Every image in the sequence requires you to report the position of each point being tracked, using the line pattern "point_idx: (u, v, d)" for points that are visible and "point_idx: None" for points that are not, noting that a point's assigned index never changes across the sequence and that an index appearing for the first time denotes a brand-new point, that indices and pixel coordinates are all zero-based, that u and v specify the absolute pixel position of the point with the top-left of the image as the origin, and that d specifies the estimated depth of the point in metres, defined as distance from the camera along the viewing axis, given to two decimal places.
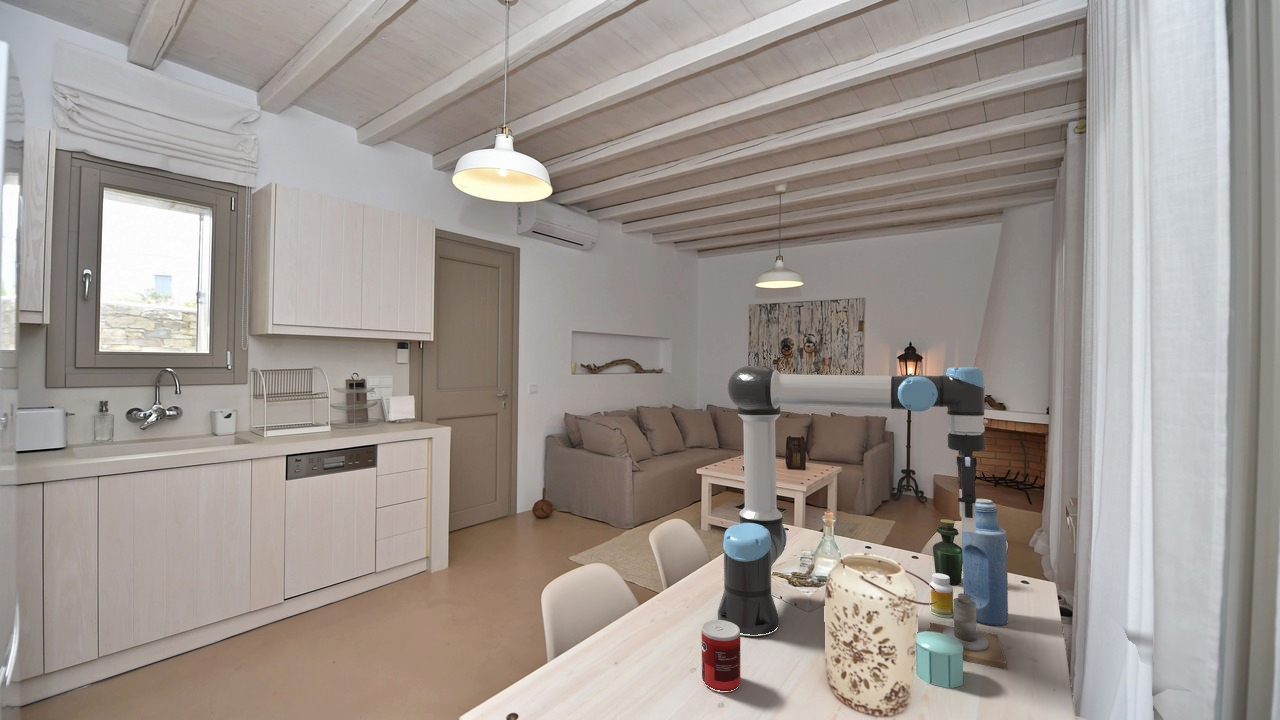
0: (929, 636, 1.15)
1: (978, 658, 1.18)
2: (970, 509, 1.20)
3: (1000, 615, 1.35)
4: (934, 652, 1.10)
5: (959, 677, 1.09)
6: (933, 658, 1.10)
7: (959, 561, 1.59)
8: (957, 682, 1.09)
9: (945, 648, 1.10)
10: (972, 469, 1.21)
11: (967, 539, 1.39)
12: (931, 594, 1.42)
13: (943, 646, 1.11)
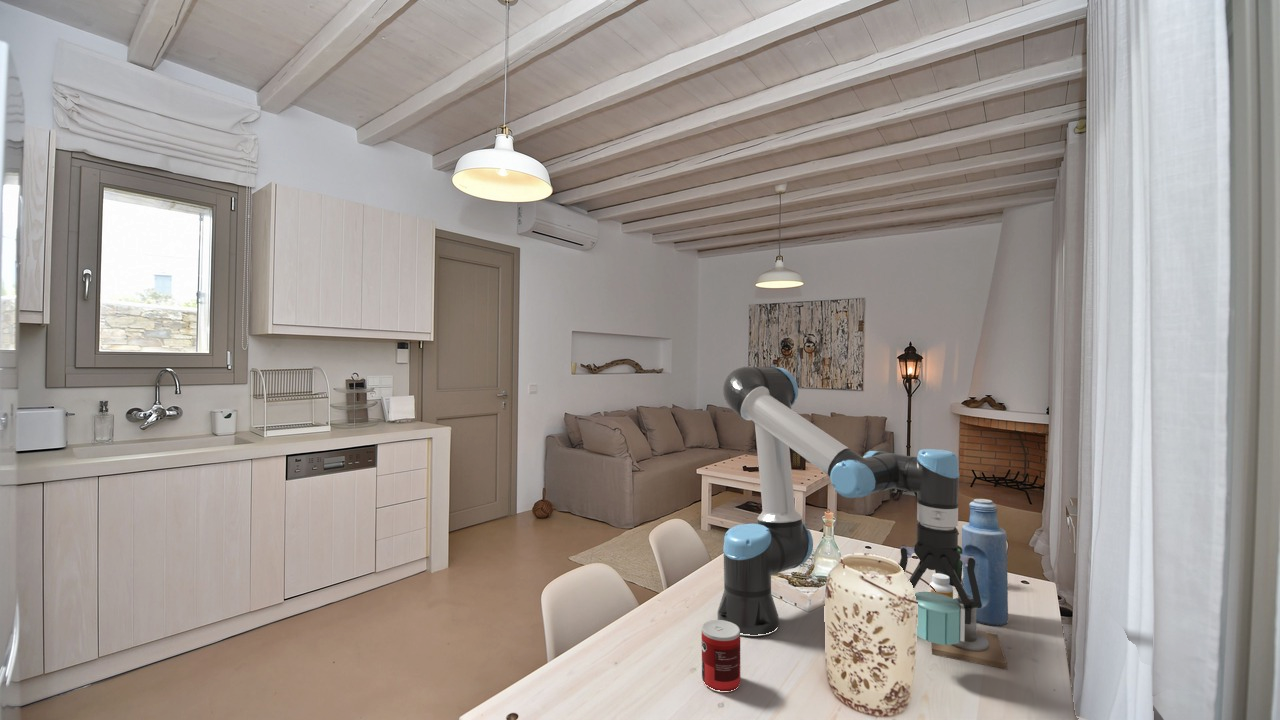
0: (926, 596, 1.16)
1: (978, 658, 1.18)
2: None
3: (1000, 615, 1.35)
4: (931, 610, 1.10)
5: (955, 635, 1.10)
6: (930, 616, 1.10)
7: (959, 561, 1.59)
8: (953, 640, 1.10)
9: (942, 606, 1.11)
10: (901, 560, 1.16)
11: (967, 539, 1.39)
12: None
13: (940, 604, 1.12)
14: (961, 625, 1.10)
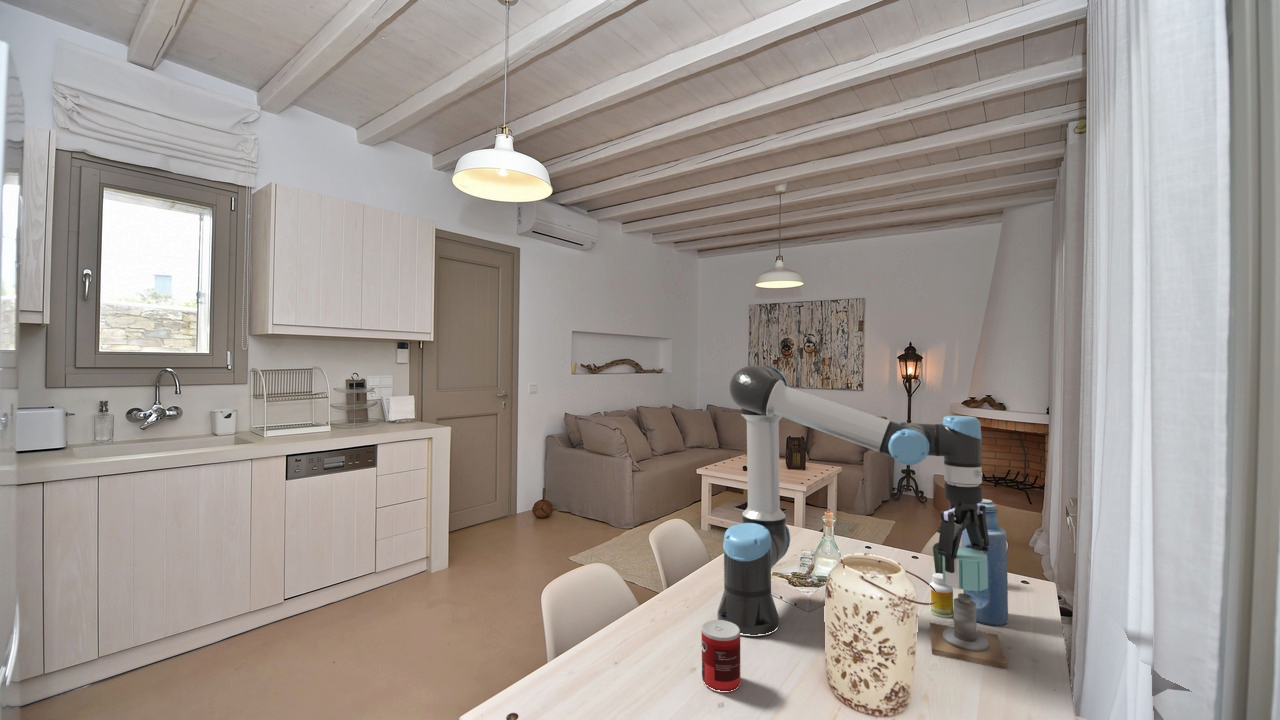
0: None
1: (978, 658, 1.18)
2: (949, 564, 1.22)
3: (1000, 615, 1.35)
4: (980, 561, 1.21)
5: None
6: (980, 566, 1.21)
7: None
8: None
9: (978, 555, 1.23)
10: (949, 524, 1.21)
11: (967, 539, 1.39)
12: (931, 594, 1.42)
13: (974, 554, 1.24)
14: None
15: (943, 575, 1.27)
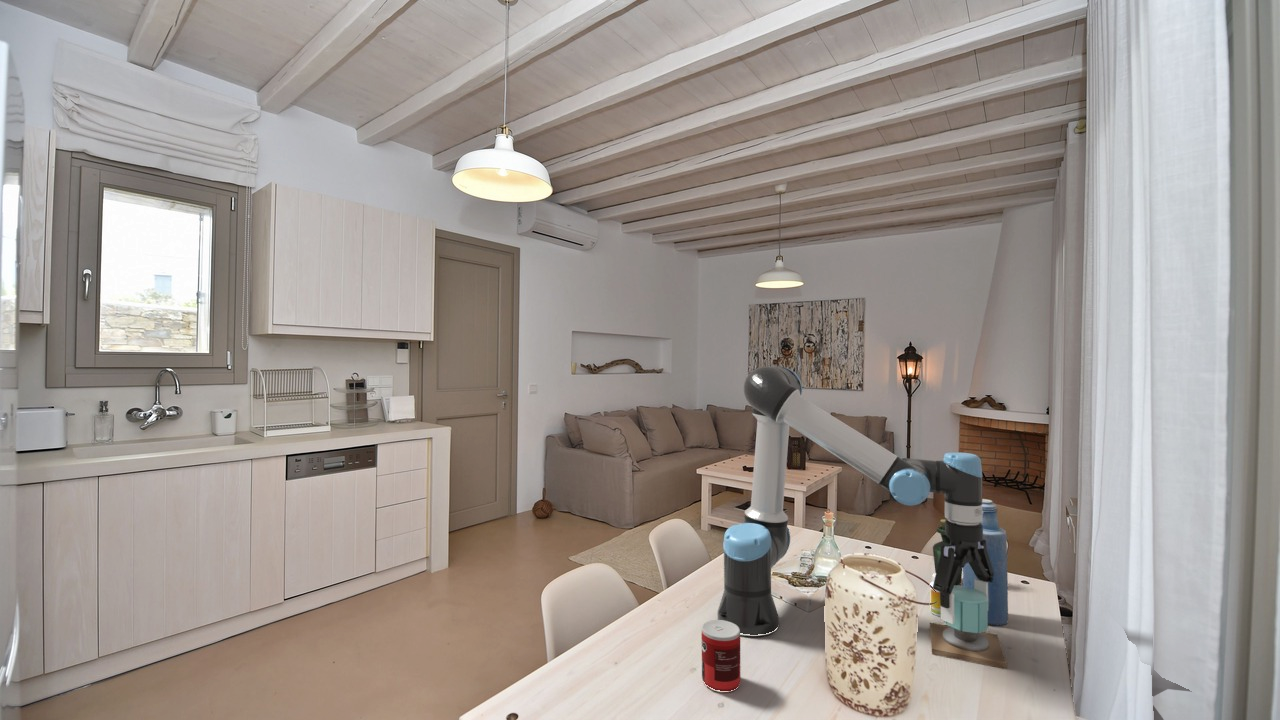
0: (953, 591, 1.26)
1: (978, 658, 1.18)
2: (944, 599, 1.21)
3: (1000, 615, 1.35)
4: (980, 603, 1.21)
5: None
6: (980, 608, 1.21)
7: None
8: None
9: (978, 596, 1.23)
10: (949, 560, 1.21)
11: None
12: (931, 594, 1.42)
13: (974, 595, 1.24)
14: None
15: None
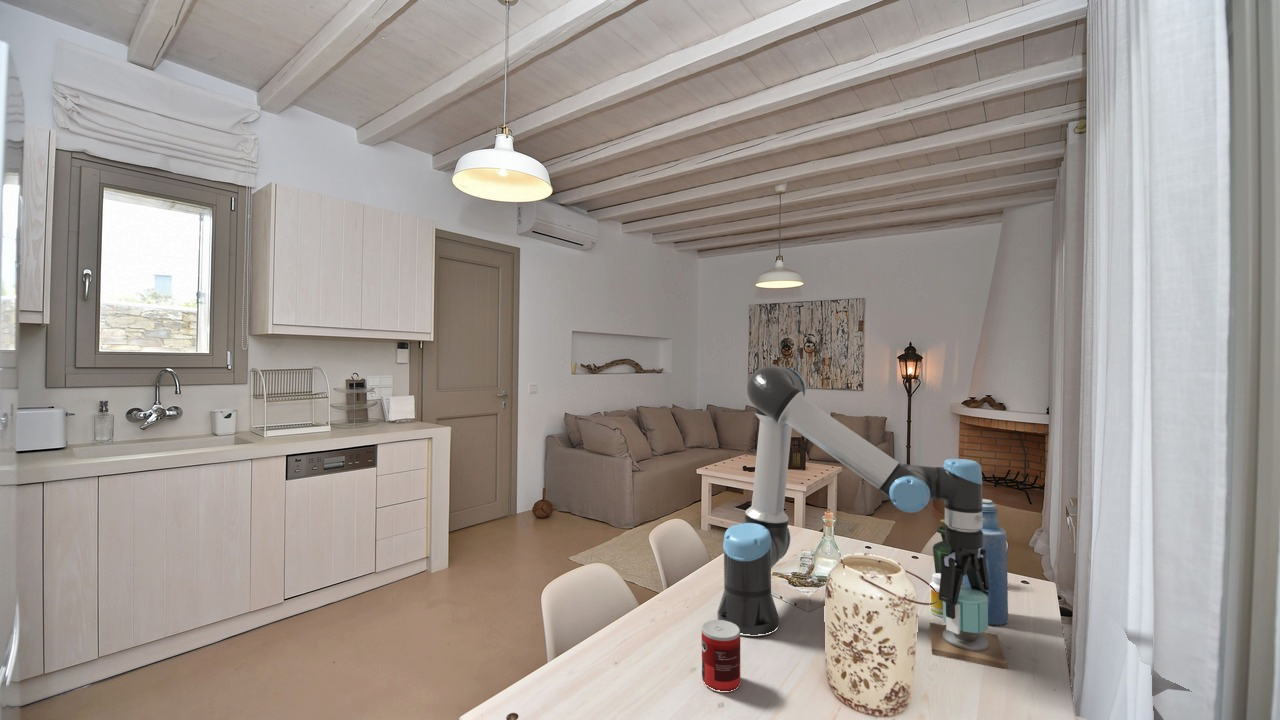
0: None
1: (978, 658, 1.18)
2: (950, 610, 1.22)
3: (1000, 615, 1.35)
4: (980, 603, 1.21)
5: None
6: (980, 608, 1.21)
7: None
8: None
9: (978, 596, 1.23)
10: (950, 570, 1.21)
11: None
12: (931, 594, 1.42)
13: (974, 595, 1.24)
14: None
15: (943, 615, 1.27)
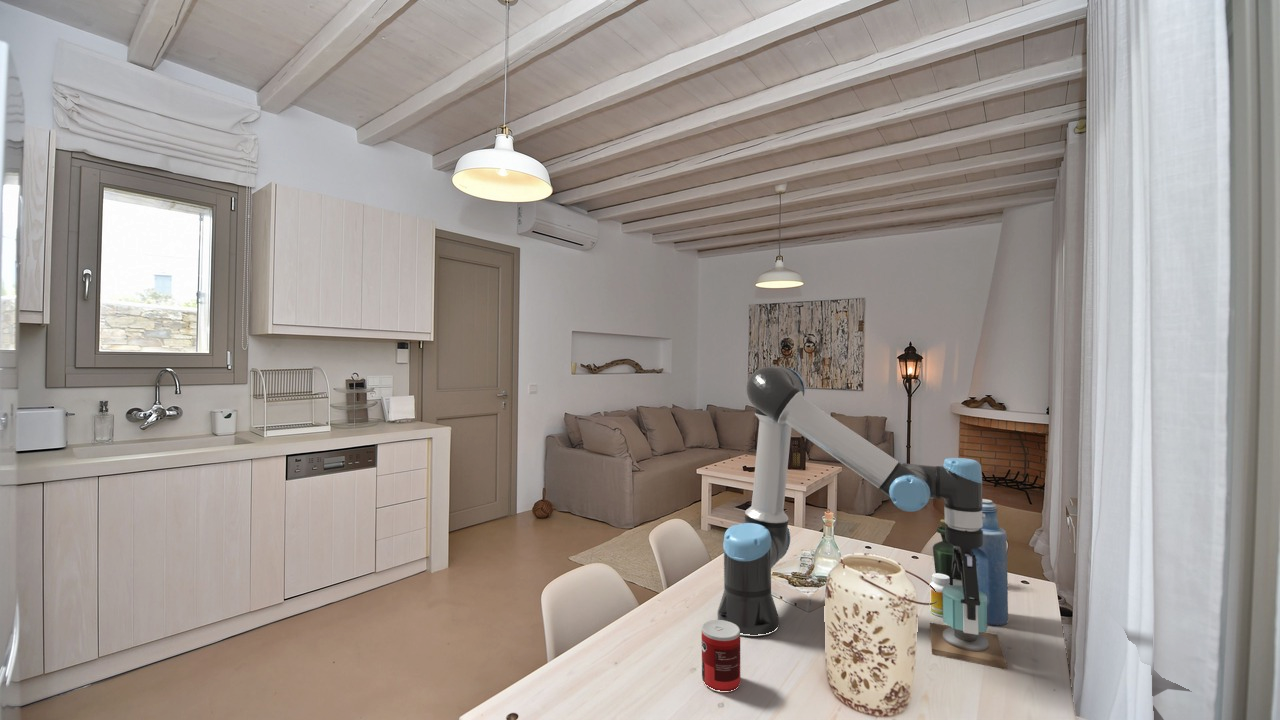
0: (963, 596, 1.23)
1: (978, 658, 1.18)
2: (973, 611, 1.17)
3: (1000, 615, 1.35)
4: None
5: None
6: None
7: None
8: None
9: None
10: (974, 569, 1.18)
11: None
12: (931, 594, 1.42)
13: None
14: None
15: (958, 624, 1.22)
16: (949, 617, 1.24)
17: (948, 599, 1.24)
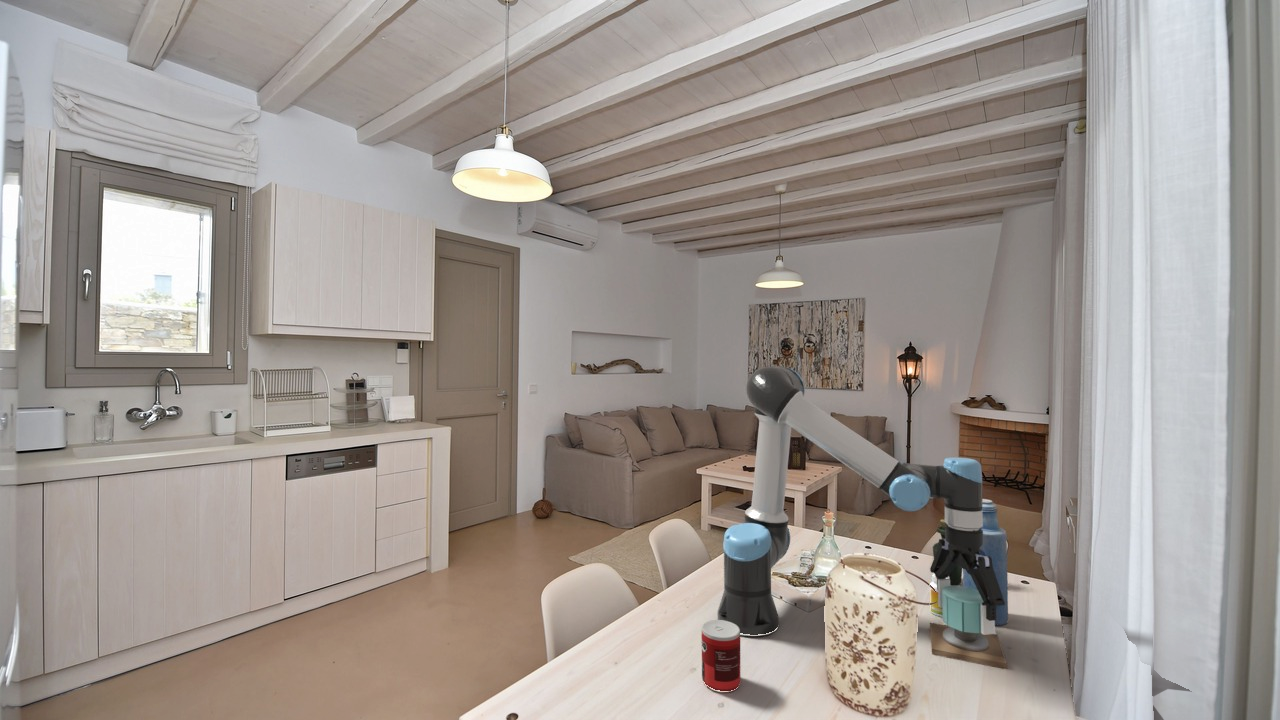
0: (975, 596, 1.23)
1: (978, 658, 1.18)
2: (994, 612, 1.17)
3: (1000, 615, 1.35)
4: None
5: None
6: None
7: None
8: None
9: (955, 588, 1.28)
10: (991, 569, 1.18)
11: None
12: (931, 594, 1.42)
13: (957, 589, 1.27)
14: None
15: None
16: (973, 624, 1.21)
17: (972, 606, 1.21)
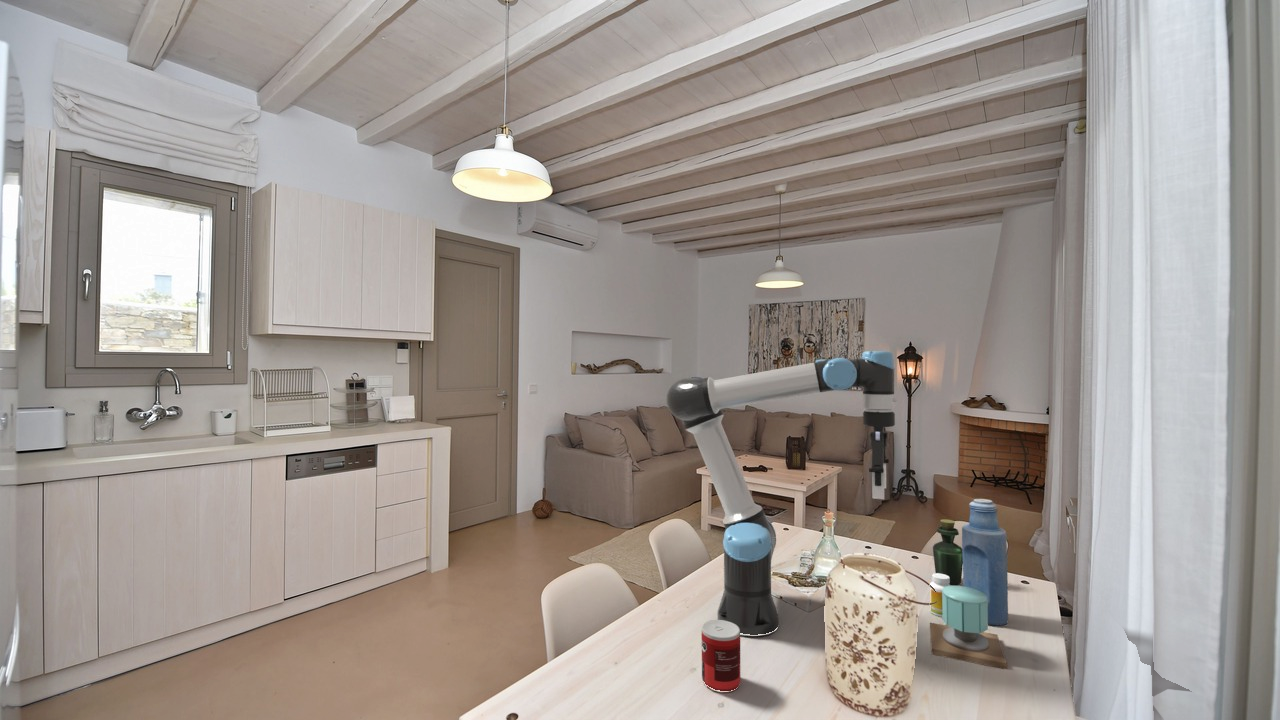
0: (975, 596, 1.23)
1: (978, 658, 1.18)
2: (879, 478, 1.33)
3: (1000, 615, 1.35)
4: None
5: None
6: None
7: (959, 561, 1.59)
8: None
9: (955, 588, 1.28)
10: (881, 442, 1.34)
11: (967, 539, 1.39)
12: (931, 594, 1.42)
13: (957, 589, 1.27)
14: None
15: (982, 627, 1.21)
16: (973, 624, 1.21)
17: (972, 606, 1.21)
